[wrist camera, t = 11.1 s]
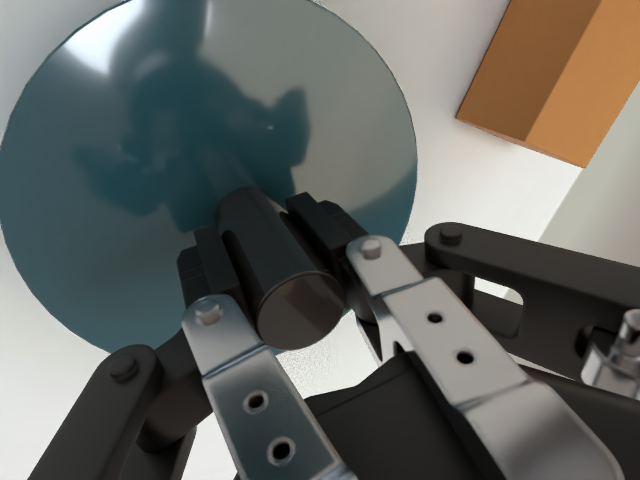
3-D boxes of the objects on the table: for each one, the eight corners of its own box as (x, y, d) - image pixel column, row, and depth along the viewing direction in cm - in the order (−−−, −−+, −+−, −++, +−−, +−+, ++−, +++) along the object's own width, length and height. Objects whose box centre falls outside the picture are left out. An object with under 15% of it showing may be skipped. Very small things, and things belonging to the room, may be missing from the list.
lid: (-130, 42, 9) (-454, 89, 4) (393, -57, 13) (579, -99, 8) (128, 400, 17) (129, 572, 12) (408, 280, 21) (504, 374, 15)
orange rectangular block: (550, -85, 15) (660, -107, 12) (606, -30, 18) (712, -37, 14) (454, 118, 18) (524, 142, 15) (513, 143, 20) (585, 169, 17)
